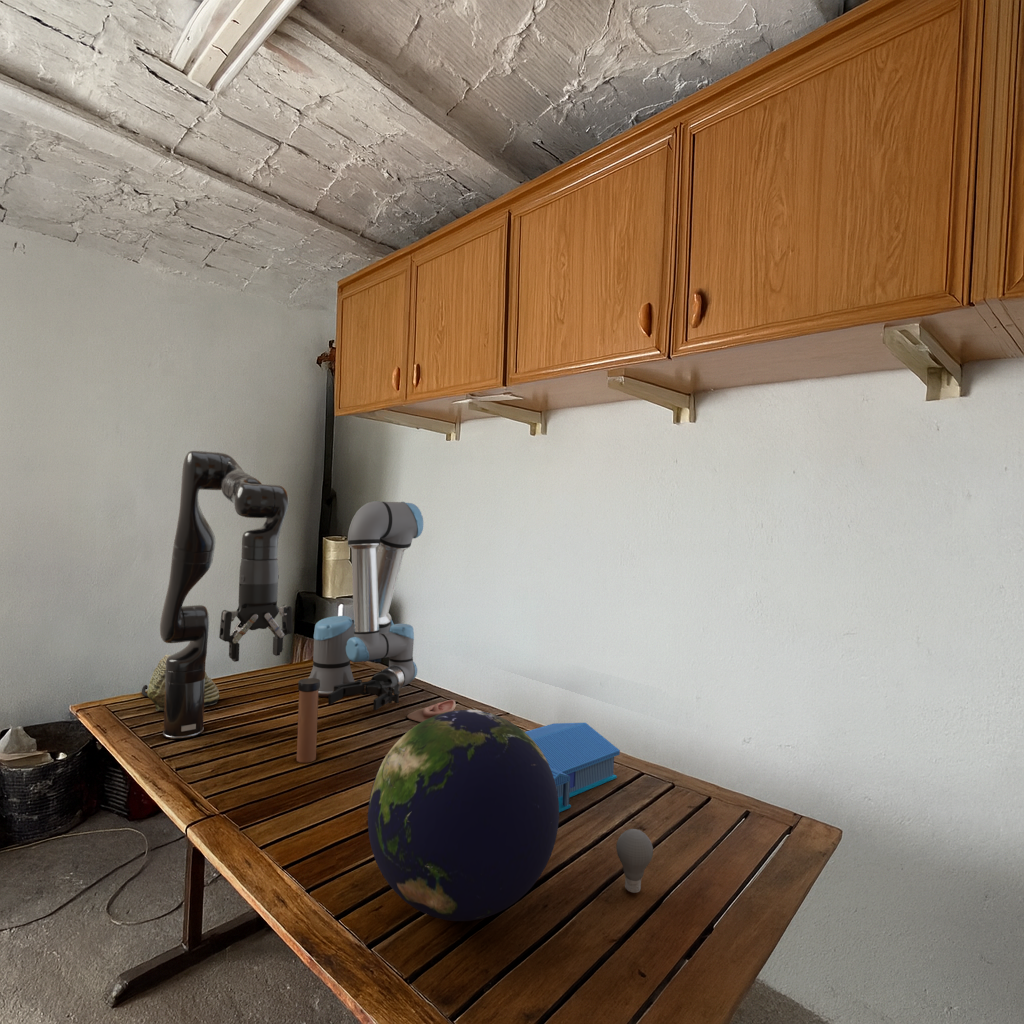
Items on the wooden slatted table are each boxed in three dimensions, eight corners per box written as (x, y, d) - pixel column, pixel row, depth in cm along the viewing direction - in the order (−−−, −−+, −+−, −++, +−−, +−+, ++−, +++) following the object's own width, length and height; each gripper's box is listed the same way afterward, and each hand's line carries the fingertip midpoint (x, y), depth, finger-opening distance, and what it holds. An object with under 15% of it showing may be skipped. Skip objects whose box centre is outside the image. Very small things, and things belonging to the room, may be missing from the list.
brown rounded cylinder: (296, 763, 150) (299, 686, 149) (296, 756, 154) (299, 680, 153) (316, 761, 151) (319, 685, 151) (315, 754, 155) (318, 679, 155)
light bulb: (610, 879, 108) (613, 822, 108) (644, 879, 109) (647, 822, 109) (619, 902, 102) (622, 840, 102) (655, 901, 103) (658, 840, 103)
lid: (298, 692, 149) (298, 684, 149) (298, 685, 154) (298, 678, 154) (320, 690, 151) (320, 683, 150) (319, 684, 155) (319, 677, 155)
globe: (322, 932, 92) (330, 728, 92) (425, 835, 120) (432, 678, 119) (512, 1001, 81) (522, 769, 81) (577, 877, 109) (585, 703, 108)
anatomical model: (403, 706, 181) (417, 694, 192) (402, 720, 181) (416, 707, 192) (447, 711, 178) (459, 699, 189) (447, 725, 178) (458, 712, 189)
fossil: (144, 707, 182) (145, 655, 182) (212, 696, 194) (213, 647, 194) (151, 716, 175) (153, 662, 175) (221, 703, 188) (223, 653, 188)
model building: (501, 837, 120) (504, 785, 120) (427, 790, 139) (429, 744, 138) (628, 782, 147) (630, 739, 147) (552, 748, 165) (553, 710, 165)
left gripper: (284, 576, 139) (281, 649, 139) (216, 579, 129) (213, 658, 130) (299, 580, 134) (296, 656, 134) (230, 584, 124) (227, 667, 124)
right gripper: (424, 698, 189) (393, 721, 168) (349, 689, 195) (310, 710, 175) (425, 673, 189) (394, 693, 168) (350, 665, 195) (311, 683, 175)
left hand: (256, 657), depth 132 cm, fingers open, 8 cm apart
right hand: (351, 702), depth 172 cm, fingers open, 13 cm apart
